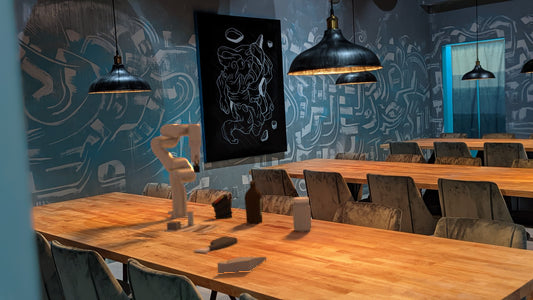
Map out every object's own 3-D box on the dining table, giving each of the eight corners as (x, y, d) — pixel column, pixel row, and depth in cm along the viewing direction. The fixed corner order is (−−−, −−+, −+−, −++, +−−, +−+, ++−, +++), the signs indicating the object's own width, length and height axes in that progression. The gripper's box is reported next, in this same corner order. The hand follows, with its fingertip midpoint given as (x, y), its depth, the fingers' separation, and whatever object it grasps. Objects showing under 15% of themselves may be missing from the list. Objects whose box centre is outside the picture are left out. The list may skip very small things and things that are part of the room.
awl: (186, 225, 323) (186, 212, 323) (189, 224, 326) (188, 211, 326) (192, 226, 322) (191, 212, 321) (194, 224, 325) (194, 211, 325)
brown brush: (239, 243, 281) (209, 255, 260) (222, 241, 287) (191, 253, 266) (239, 237, 280) (208, 249, 260) (222, 235, 286) (191, 247, 266)
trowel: (253, 257, 251) (252, 246, 251) (278, 263, 241) (278, 251, 240) (206, 272, 231) (205, 260, 231) (232, 279, 220) (231, 266, 220)
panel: (161, 233, 312) (161, 231, 312) (178, 225, 330) (178, 223, 330) (205, 234, 302) (205, 232, 302) (220, 227, 321) (220, 225, 321)
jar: (310, 232, 297) (308, 199, 296) (292, 232, 299) (290, 199, 298) (312, 228, 306) (311, 196, 305) (295, 228, 308) (293, 196, 307)
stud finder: (167, 229, 314) (166, 221, 314) (171, 227, 319) (171, 220, 319) (176, 230, 312) (176, 222, 312) (180, 228, 317) (180, 220, 317)
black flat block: (236, 214, 351) (227, 194, 346) (221, 225, 344) (211, 206, 339) (233, 213, 354) (223, 193, 349) (218, 225, 347) (208, 205, 342)
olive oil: (245, 224, 325) (243, 182, 323) (245, 220, 336) (243, 180, 334) (263, 223, 326) (261, 181, 324) (263, 220, 336) (261, 179, 334)
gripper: (188, 143, 344) (190, 171, 345) (189, 145, 327) (191, 173, 328) (200, 143, 345) (202, 170, 346) (202, 144, 328) (203, 172, 329)
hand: (196, 171), depth 337 cm, fingers open, 9 cm apart
